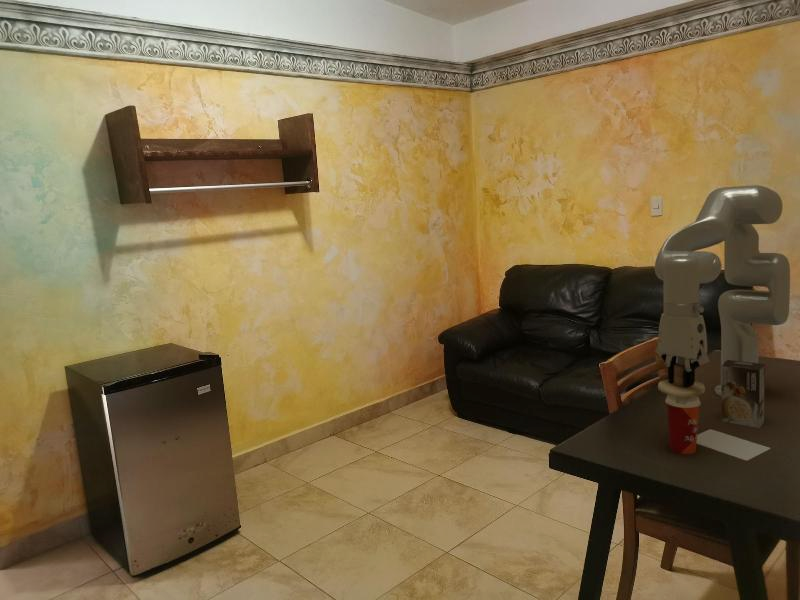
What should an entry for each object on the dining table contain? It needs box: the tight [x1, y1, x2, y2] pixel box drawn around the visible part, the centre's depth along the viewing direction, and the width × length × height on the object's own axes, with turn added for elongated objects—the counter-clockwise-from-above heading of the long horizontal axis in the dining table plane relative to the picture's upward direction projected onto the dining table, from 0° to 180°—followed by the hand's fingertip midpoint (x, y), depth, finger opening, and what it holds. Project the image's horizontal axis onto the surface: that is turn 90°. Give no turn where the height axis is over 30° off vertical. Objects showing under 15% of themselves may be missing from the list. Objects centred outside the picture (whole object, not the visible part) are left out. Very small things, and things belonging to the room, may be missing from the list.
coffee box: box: [720, 360, 766, 429], centre depth 153 cm, size 9×6×16 cm
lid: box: [657, 362, 706, 396], centre depth 139 cm, size 10×10×6 cm
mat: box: [696, 429, 772, 462], centre depth 142 cm, size 10×15×1 cm, turn 30°
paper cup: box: [664, 394, 702, 455], centre depth 140 cm, size 8×8×14 cm
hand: (681, 383), depth 139 cm, fingers closed on lid, 3 cm apart
